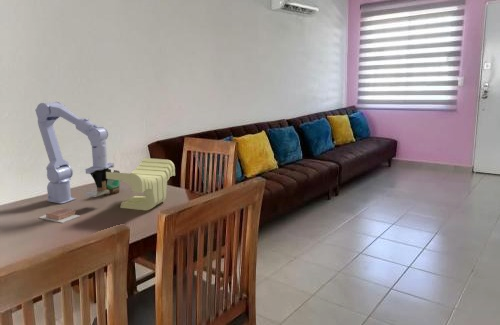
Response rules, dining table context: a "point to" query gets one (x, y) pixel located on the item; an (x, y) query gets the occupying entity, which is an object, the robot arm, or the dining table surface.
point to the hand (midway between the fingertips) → (101, 186)
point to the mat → (60, 219)
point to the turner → (98, 190)
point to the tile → (60, 213)
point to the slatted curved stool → (146, 182)
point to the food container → (112, 186)
